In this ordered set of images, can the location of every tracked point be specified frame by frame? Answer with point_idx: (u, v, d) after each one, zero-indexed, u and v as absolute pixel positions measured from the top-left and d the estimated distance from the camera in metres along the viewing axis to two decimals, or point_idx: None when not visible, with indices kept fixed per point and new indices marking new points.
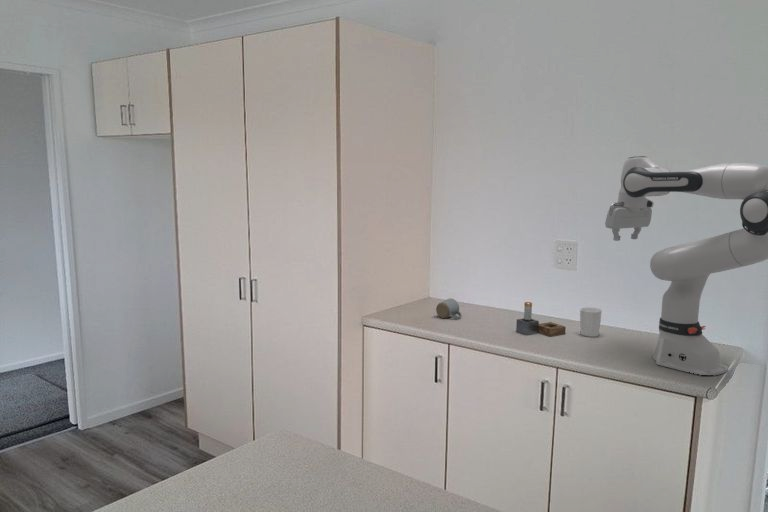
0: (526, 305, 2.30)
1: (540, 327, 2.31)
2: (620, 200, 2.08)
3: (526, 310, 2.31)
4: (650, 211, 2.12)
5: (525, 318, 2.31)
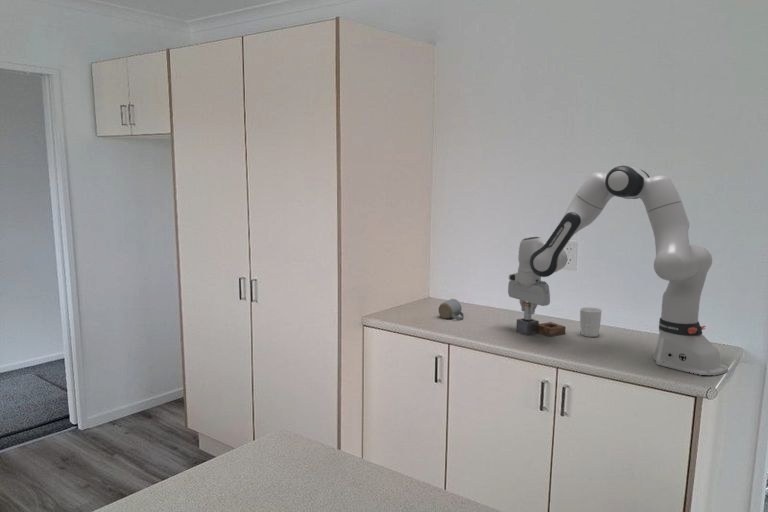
0: (526, 305, 2.30)
1: (540, 327, 2.31)
2: (534, 278, 2.26)
3: (526, 310, 2.31)
4: None
5: (525, 318, 2.31)
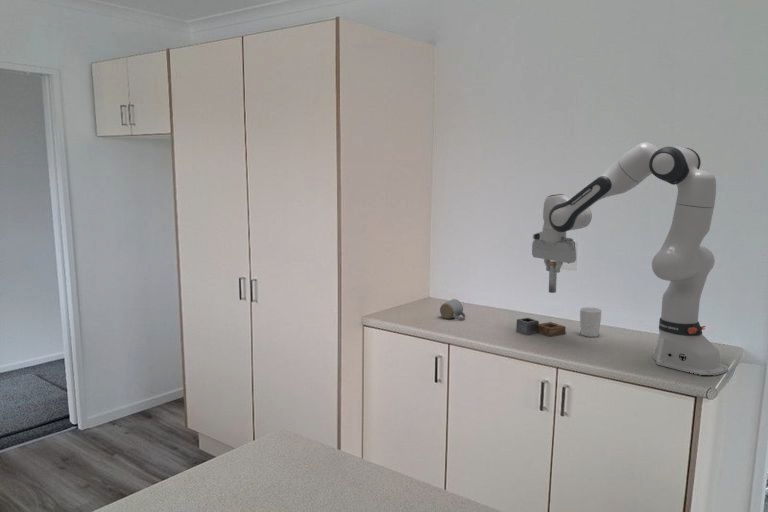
0: (551, 264, 2.27)
1: (540, 327, 2.31)
2: (560, 236, 2.23)
3: (551, 269, 2.27)
4: None
5: (550, 277, 2.28)
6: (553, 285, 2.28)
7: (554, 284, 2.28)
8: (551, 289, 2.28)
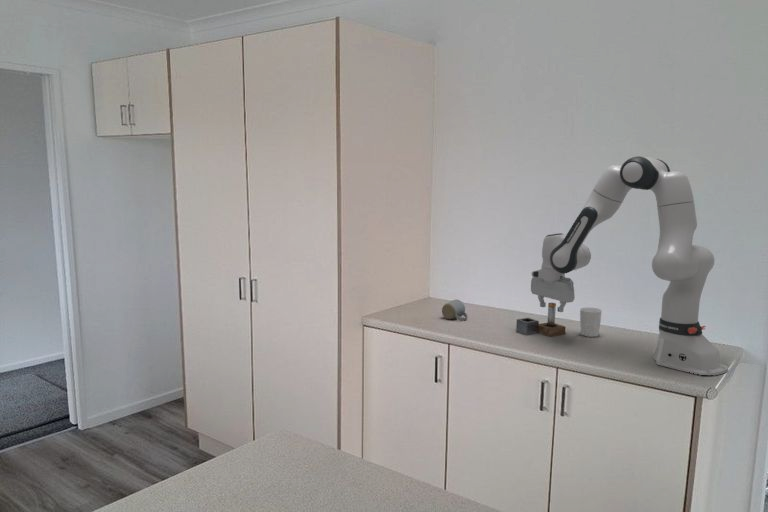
0: (550, 306, 2.29)
1: (540, 327, 2.31)
2: (558, 275, 2.25)
3: (550, 311, 2.30)
4: None
5: (549, 319, 2.31)
6: (551, 326, 2.30)
7: (552, 325, 2.30)
8: None
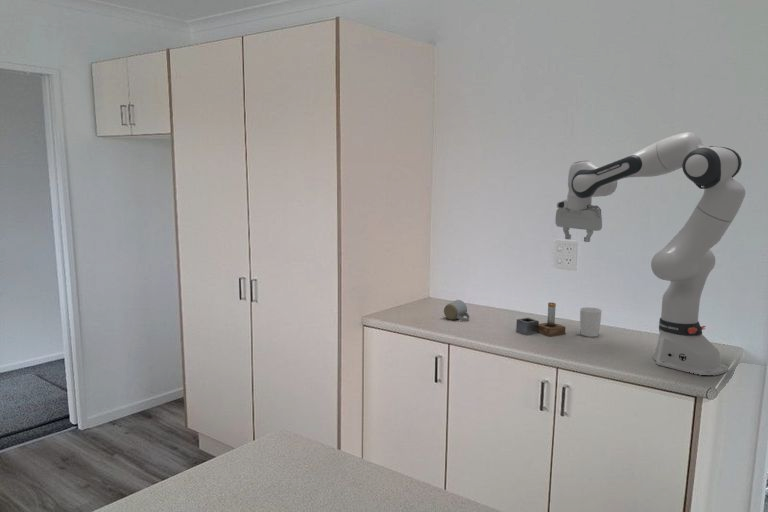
0: (550, 305, 2.30)
1: (540, 327, 2.31)
2: (585, 203, 2.18)
3: (550, 310, 2.30)
4: None
5: (549, 319, 2.31)
6: (551, 326, 2.31)
7: (552, 325, 2.31)
8: None
